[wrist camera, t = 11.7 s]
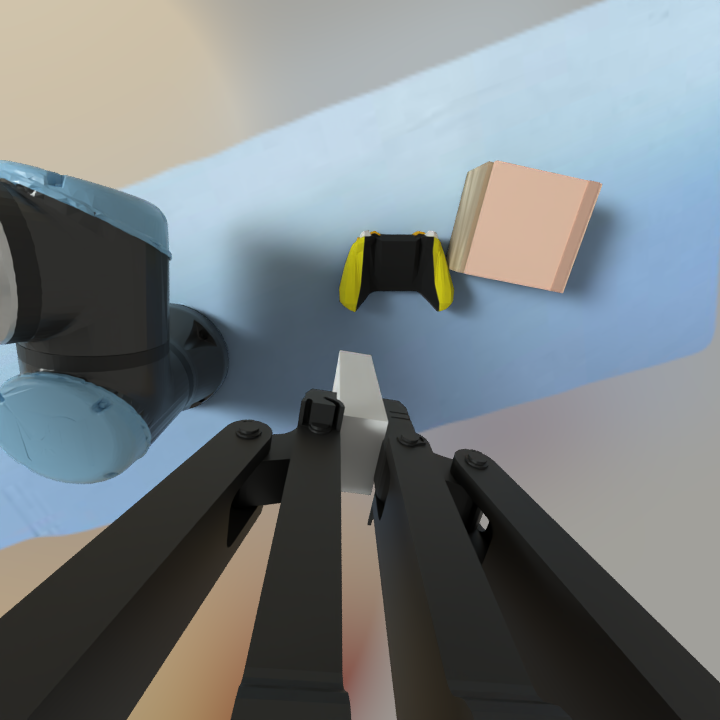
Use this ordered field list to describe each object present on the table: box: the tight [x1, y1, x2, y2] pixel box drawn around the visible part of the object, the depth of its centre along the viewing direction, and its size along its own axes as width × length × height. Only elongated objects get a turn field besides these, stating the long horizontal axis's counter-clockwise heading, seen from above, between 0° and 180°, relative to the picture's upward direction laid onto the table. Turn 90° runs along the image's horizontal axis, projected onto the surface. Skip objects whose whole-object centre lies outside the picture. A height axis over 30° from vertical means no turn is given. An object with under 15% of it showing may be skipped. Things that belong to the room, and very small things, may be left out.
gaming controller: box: [339, 230, 454, 312], centre depth 47 cm, size 15×6×10 cm
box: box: [446, 161, 494, 273], centre depth 45 cm, size 12×12×7 cm
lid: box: [464, 161, 602, 293], centre depth 41 cm, size 12×12×1 cm
